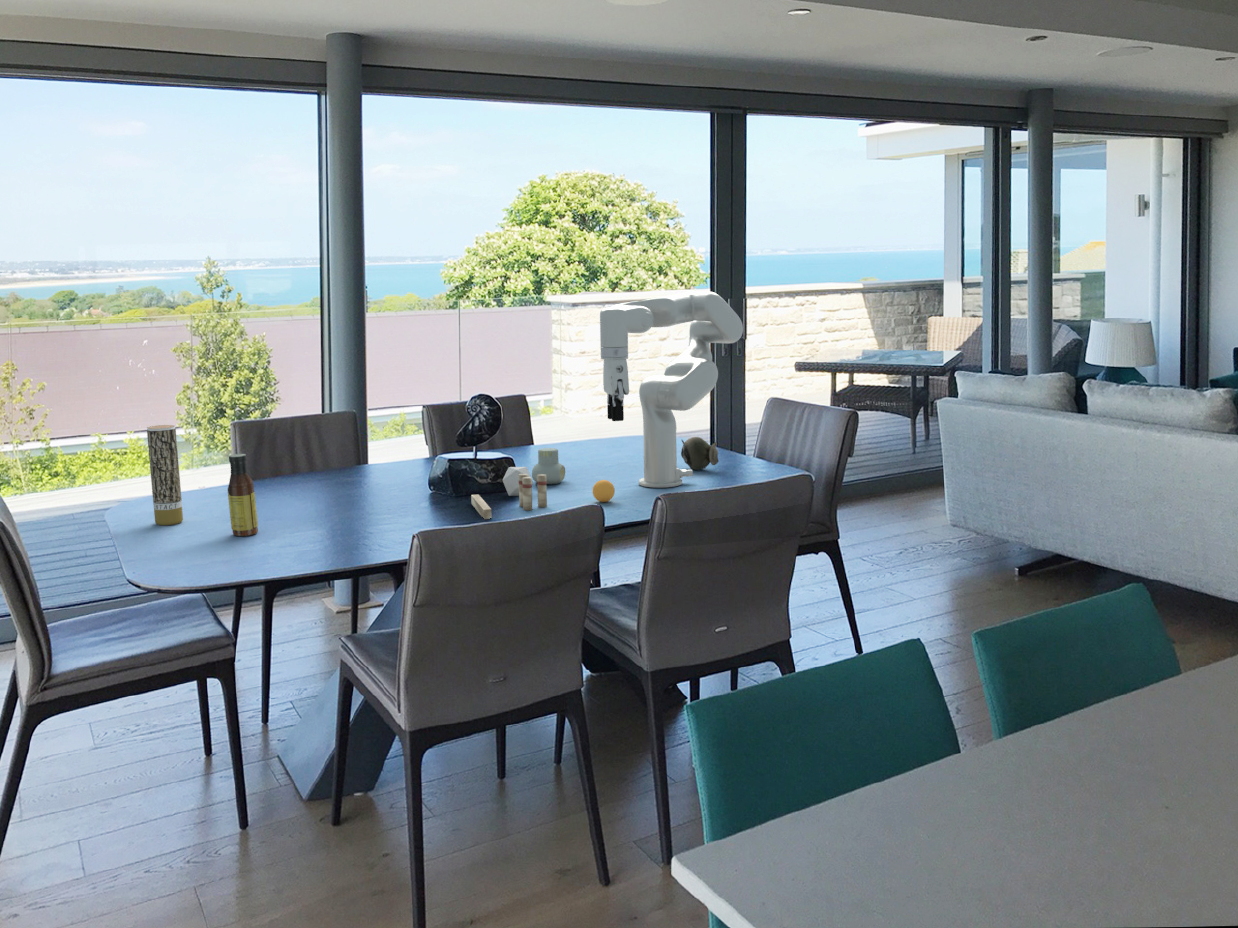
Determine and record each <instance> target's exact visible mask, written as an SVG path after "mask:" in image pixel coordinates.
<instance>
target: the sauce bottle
mask: <svg viewBox="0 0 1238 928" xmlns="http://www.w3.org/2000/svg"><path fill="white" fill-rule="evenodd" d="M228 462H229V465H230V476H229V483H228V486H227V496H228V497H227V498H228V505H229V506H228V508H229V518H230V526H231V530H232V535H234V536H237V537H248V536H253V535H257V534H258V532H259V528H258V527H259V521H258V511H257V504H256V503H257V502H256V495H255V494H256V492H255V487H254V480H253V479H252V476H251V475H249V473H248V468H247V455H246V453H235V454H234V453H233V454H230V455H229V456H228Z"/></svg>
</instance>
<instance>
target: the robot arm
mask: <svg viewBox="0 0 1238 928" xmlns="http://www.w3.org/2000/svg"><path fill="white" fill-rule="evenodd" d="M688 322H690V323H691V324H690V325H689V342H688V346H687V348H685V350H684V351H683V352H682V353H680V354H679V355H678V356H677V357H676V358H674V359H673V360H672V361H671V362H670V363H669V364H668V365H667V366H666V369H665V370H664V374H663V375H661V374H657V375H650V376H647V377H645V378H644V379H643V380H642V381H641V383H640V386H639V389H638V390H639V391H638V392H639V396H638V397H639V400H640V405H641V409H642V410H641V411H642V423H643V424H642V426H643V428H642V429H643V478H639V479H638V484H639V485H640V486H642V487H644V488H653V489H654V488H659V489H662V488H664V489H665V488H672V487H673V488H674V487H679V486H681V485H682V484H683V479H682V478H683V477H693V475H694V470H693V469H680V468H679V467H677V466H678V465H677V421H676V417H675V415H674V413H673V411H680V412H681V411H682V412H685V411H688V410H690V409H692V408H694V407H696V405H697V404H699V403H700V402H701V401H702V400H703V399H704V398H705V397H706V396H707V395H708V394H709V393H710V392H711V391H713V389H714V388H715V386H716V384H717V382H718V380H719V379H718V378H719V370H718V367H717V365H716V364H715V362H714V361H713V354H712V351H711V344H715V343H716V344H734V343H737V342H738V341H739V340H740V339H741V337H742V335H743V332H744V325H743V322H742V320H741V317H739V315H738V313H736V311H735V310H734V309H733V308H732V307H731V306H730V305H729V304H728V302H727V301H725V299H724V298H723V297H721V295H719V294H717V293H716V292H713V291H686V292H682V293H677V294H676V293H675V294H672V295H667V296H662V297H656V298H655V297H654V298H649V299H643V300H635V301H629V302H628V301H627V302H622V303H618V304H615V305H614V304H613V305H612V306H610V307H605V308H602V309H601V310H600V313H599V330H600V331H599V333H600V334H599V335H600V336H599V337H600V360H603V369H602V373H603V376H602V378H603V379H602V380H603V385H602V386H603V391H604V392H605V393H606V394H607V398H606V399H607V400H606V403H607V407H606V408H607V419H608V420H611V421H612V422H622V421H624V420H625V419H624V417H625V416H624V405H625V404H624V399H625V396H628V395H629V393H630V384H629V383H630V382H629V380H630V379H629V368H628V361H627V359H629V339H628V338H629V333H630V334H645V333H646V332H648V331H649V330H650V329H651V328H666V327H672V326H677V325H680V324H685V323H688Z"/></svg>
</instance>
